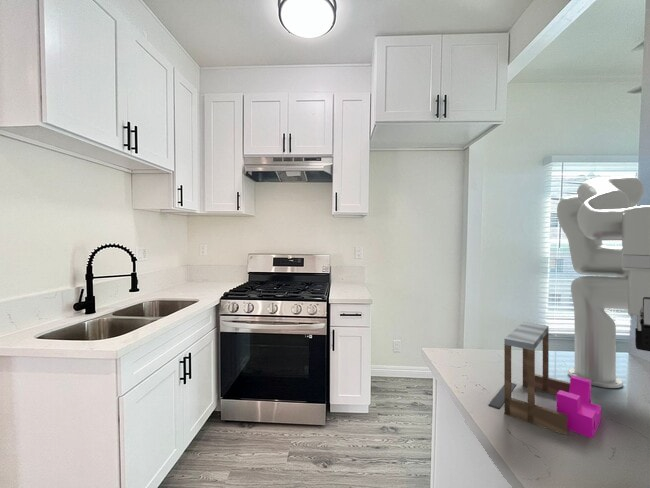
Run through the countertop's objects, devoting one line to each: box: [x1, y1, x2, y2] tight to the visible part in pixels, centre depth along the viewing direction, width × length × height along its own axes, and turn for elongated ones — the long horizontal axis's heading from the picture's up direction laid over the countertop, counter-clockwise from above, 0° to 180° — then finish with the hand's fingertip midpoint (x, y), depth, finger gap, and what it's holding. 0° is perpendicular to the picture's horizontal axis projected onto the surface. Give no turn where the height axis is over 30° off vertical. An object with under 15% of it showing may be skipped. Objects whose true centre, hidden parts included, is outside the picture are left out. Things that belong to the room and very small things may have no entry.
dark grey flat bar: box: [488, 382, 517, 410], centre depth 85 cm, size 18×2×1 cm, turn 136°
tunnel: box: [503, 321, 570, 436], centre depth 79 cm, size 21×12×18 cm, turn 136°
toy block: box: [556, 375, 602, 439], centre depth 73 cm, size 15×6×8 cm, turn 130°
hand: (646, 348), depth 66 cm, fingers closed
